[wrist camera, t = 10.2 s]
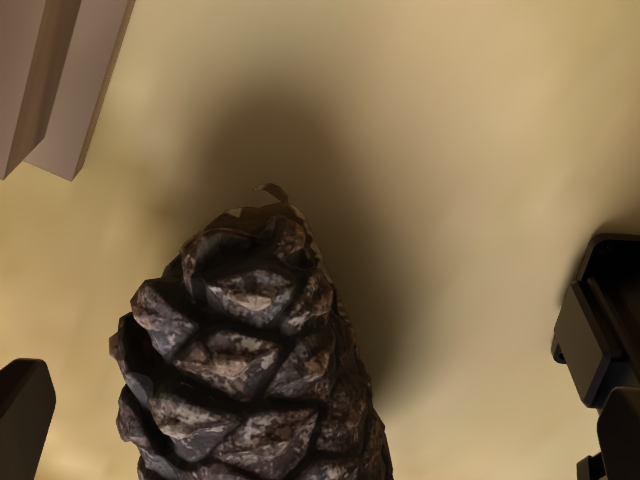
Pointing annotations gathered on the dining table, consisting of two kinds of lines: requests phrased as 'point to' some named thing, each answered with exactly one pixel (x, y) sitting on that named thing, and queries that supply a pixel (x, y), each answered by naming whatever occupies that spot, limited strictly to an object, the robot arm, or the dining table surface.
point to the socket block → (55, 78)
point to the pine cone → (247, 361)
